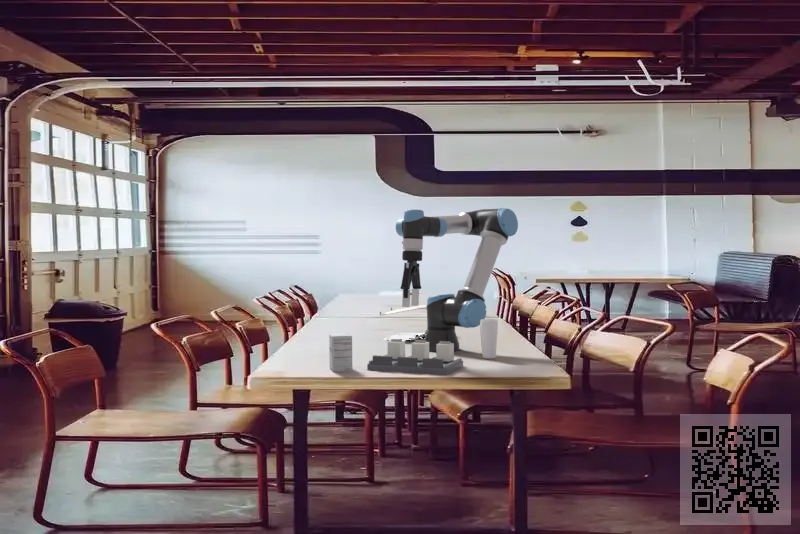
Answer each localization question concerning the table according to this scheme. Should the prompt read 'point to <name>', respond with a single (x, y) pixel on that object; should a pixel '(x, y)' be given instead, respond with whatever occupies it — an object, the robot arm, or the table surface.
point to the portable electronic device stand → (404, 311)
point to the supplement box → (340, 352)
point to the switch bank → (414, 365)
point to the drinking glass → (489, 337)
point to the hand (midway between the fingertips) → (410, 306)
